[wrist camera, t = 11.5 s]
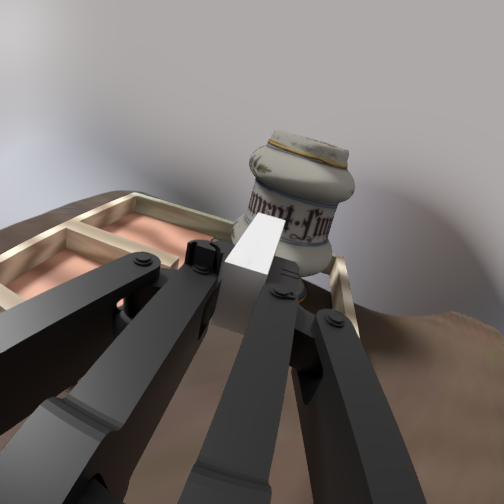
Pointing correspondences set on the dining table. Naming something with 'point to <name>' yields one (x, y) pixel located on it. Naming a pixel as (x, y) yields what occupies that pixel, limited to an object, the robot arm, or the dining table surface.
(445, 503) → the dining table surface
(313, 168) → the apothecary jar
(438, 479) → the dining table surface
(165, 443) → the dining table surface
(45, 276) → the trap box
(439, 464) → the dining table surface
